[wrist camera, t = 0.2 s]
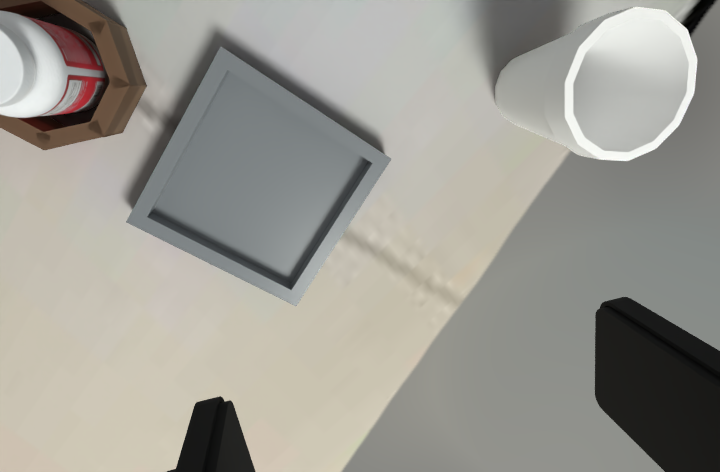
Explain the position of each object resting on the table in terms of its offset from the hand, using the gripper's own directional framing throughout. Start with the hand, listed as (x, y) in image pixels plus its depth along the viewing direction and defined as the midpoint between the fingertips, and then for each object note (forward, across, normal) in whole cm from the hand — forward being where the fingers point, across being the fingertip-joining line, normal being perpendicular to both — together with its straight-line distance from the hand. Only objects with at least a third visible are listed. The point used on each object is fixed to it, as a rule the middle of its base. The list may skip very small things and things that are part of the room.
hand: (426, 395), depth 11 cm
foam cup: (+31, -20, -4) cm, 37 cm away
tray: (+31, +5, 0) cm, 31 cm away
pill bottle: (+31, +18, -12) cm, 38 cm away
